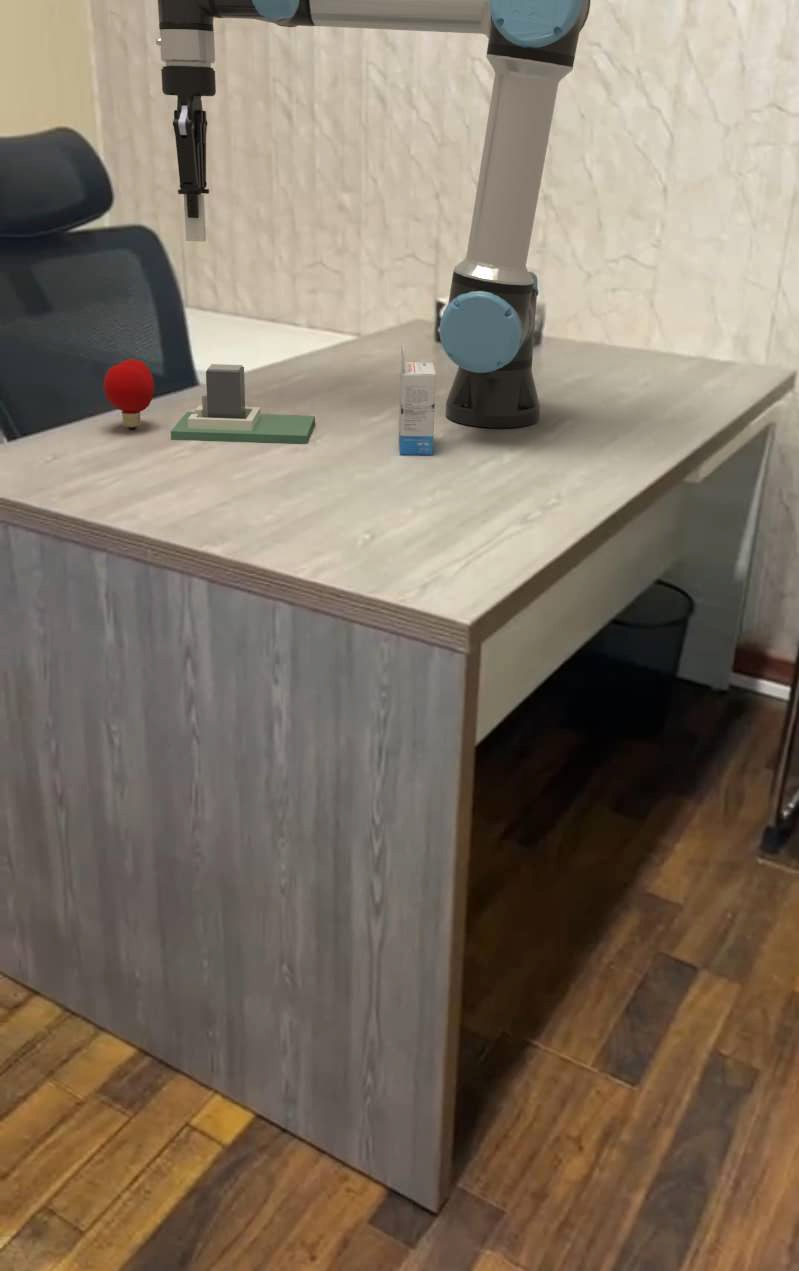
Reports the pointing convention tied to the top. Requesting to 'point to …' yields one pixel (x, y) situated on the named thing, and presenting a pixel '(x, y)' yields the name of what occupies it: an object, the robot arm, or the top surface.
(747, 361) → the top surface
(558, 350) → the top surface
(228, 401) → the plug
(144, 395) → the light bulb
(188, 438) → the board
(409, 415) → the ink box
